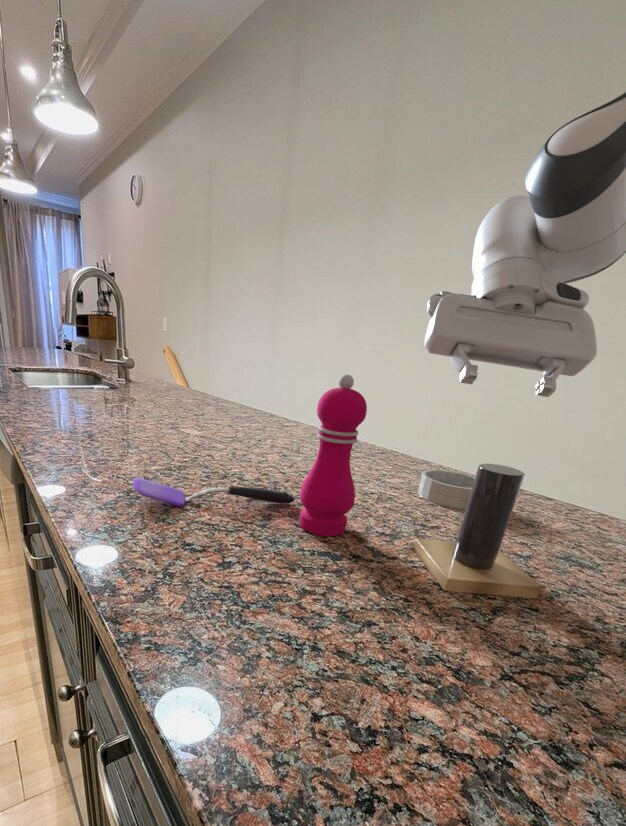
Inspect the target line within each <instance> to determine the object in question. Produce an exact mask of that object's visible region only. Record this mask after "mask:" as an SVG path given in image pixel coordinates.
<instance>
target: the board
mask: <svg viewBox="0 0 626 826" xmlns="http://www.w3.org/2000/svg"><path fill="white" fill-rule="evenodd" d="M455 544H456V541H453V540H440V539H429V538H415V539H414V544H413V547H412V549H413V551H414V552H415V554H416V555H417V556H418V558H419V559H420V560H421V562H422V563H423V564H424V566H425V567H426V568H427V570H428V571H429V572H430V573H431V575H432V576H433V578H434V579H435V581H436V582H437V583H438V584H439V586H440V587H441V589H442V590H443V591H444V592H453V593H464V594H465V593H467V594H477V595H488V596H489V595H490V596H498V597H499V596H500V597H511V598H522V599H524V598H525V599H534V600H535V599H538V597H539V595H540V591H541V589H542V586H541V585H540V584H538V582H537V581H535V579H533V578H532V577H531V576H530V575H529V574H527V573H526V571H524V570H523V569H522V568H521V567H519V566H518V564H516V563H515V562H514V561H513V560H511V559H510V558H509V557H508V556H507V555H506V554H505V553H504V552H502V551H501V550H500V549H499V552H498V555H497V558H496V561H495V564H494V567H493V568H491V569H476V568H472V567H468V566H466V565H463V564H461V563H459V562H458V561H456V560H455V559H454V558H453V555H452V554H453V551H454V547H455Z"/></svg>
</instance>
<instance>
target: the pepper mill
mask: <svg viewBox="0 0 626 826" xmlns="http://www.w3.org/2000/svg"><path fill="white" fill-rule="evenodd" d="M354 383H355V380H354V378H353V376H352V375H350V374H343V375H342V376H340V378H339V380H338V386H339V387H333V388H331V389H329V390H327V391H326V392H324V393H323V394H322V395H321V396H320V398H319V399H318V402H317V406H316V415H317V417H318V420H319V421H320V423H321V425H318V427H317V430H318V432H317V433H316V437H317V438H318V439H319V445H318V451H317V455H316V458H315V461H314V463H313V465H312V467H311V469H310V470H309V472H308V474H307V475H306V477H305V478H304V479H303V482H302V484H301V487H300V491H299V500H300V501H299V502H300V503H301V504H302V506H303V507H304V508H303V509H302V510H301V511H300V514H299V521H298V522H299V526H300V527H301V529H303V530H304V531H306V532H308V533H311V534H313V535H317V536H322V537H336V536H337V537H338V536H341V535H343V534H344V533H345V532H346V528H347V527H346V526H347V523H348V517H347V516H346V514H347V513H348V512H350V511H351V510H352V508H353V507H354V505H355V501H356V489H355V485H354V480H353V477H352V472H351V471H352V470H351V453H352V449H353V445H354V444H355V443H357V442H358V435H359V433H360V432H359V430H357V428H358V427H359V426H361V424H362V423H363V422H364V421H365V419H366V417H367V411H368V408H367V407H368V406H367V401H366V399H365V397H364V395H362V393H360V392H359V391H357V390H355V389H353V386H354Z"/></svg>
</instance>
